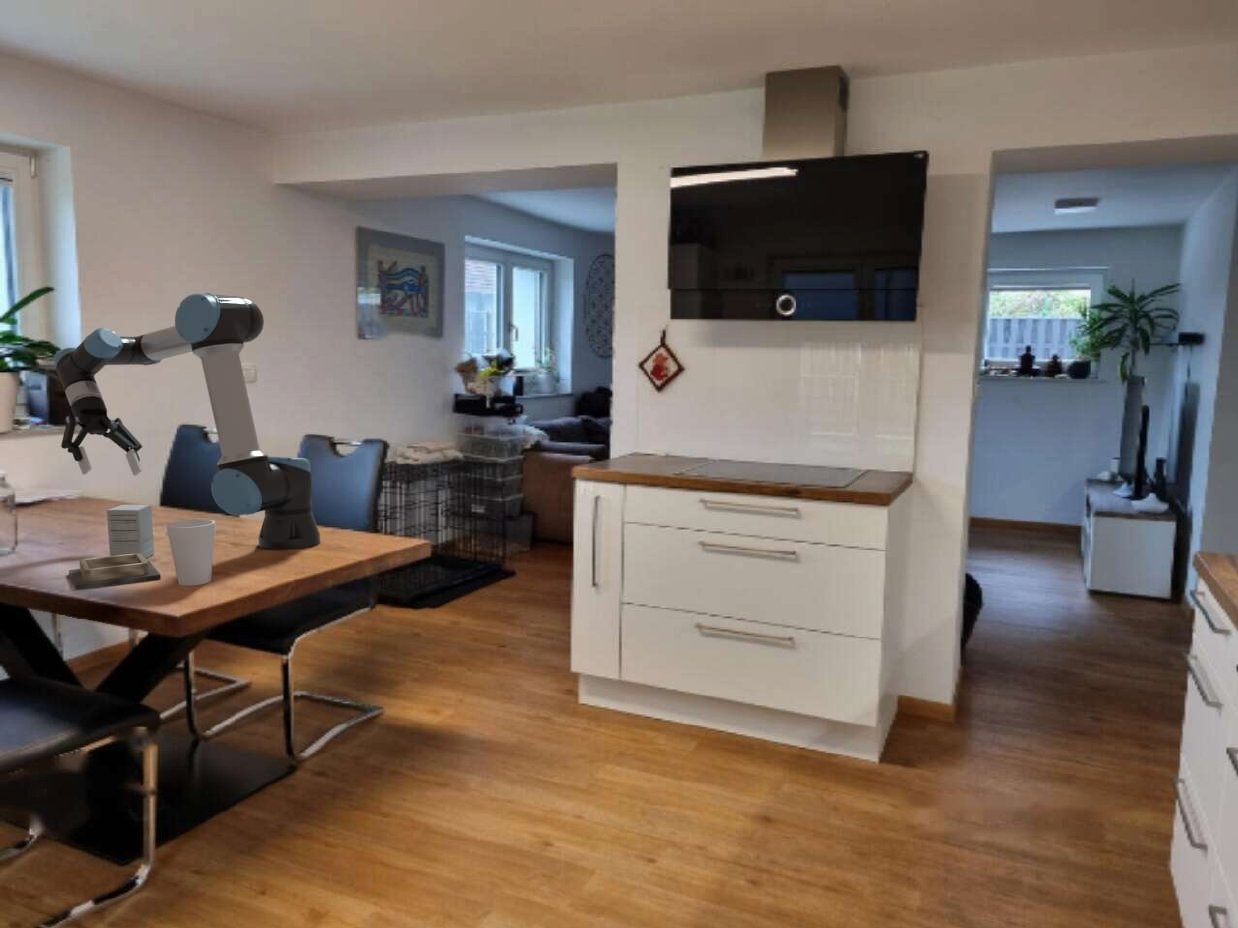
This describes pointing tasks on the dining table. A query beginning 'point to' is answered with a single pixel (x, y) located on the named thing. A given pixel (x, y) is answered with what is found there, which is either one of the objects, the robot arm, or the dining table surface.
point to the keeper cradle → (113, 571)
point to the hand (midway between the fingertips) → (113, 472)
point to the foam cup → (192, 550)
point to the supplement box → (130, 530)
